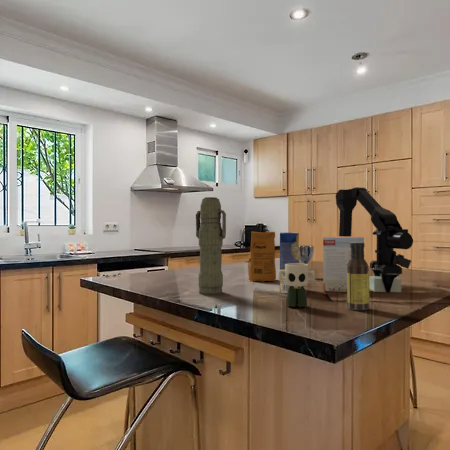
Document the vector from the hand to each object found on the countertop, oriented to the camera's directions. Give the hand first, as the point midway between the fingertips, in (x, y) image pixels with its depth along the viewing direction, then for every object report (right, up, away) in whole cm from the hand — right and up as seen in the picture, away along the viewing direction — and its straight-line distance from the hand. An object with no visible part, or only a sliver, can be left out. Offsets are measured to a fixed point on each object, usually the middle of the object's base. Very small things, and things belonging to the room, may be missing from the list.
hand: (384, 290), depth 137 cm
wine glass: (-20, -1, +42) cm, 46 cm away
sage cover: (0, -1, 0) cm, 1 cm away
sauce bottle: (-18, -2, -24) cm, 30 cm away
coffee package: (-41, -1, +33) cm, 53 cm away
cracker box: (-15, -1, 0) cm, 15 cm away
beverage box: (-33, -1, +7) cm, 34 cm away
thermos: (-63, -1, +3) cm, 63 cm away
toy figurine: (-36, -2, -21) cm, 41 cm away
